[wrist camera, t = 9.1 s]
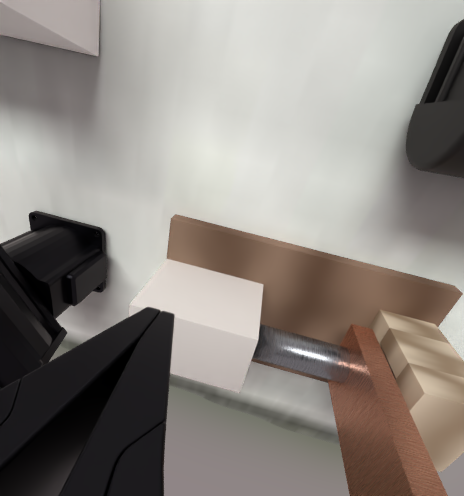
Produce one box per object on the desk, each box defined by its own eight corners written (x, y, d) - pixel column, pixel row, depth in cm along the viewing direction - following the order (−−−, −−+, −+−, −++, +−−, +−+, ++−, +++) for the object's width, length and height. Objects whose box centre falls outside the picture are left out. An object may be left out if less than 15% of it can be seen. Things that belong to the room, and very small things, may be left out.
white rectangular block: (161, 306, 24) (127, 360, 18) (166, 258, 21) (129, 304, 16) (248, 330, 23) (239, 393, 18) (263, 284, 21) (258, 340, 16)
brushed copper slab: (234, 344, 21) (203, 503, 13) (249, 295, 19) (223, 447, 10) (400, 390, 21) (490, 592, 12) (435, 346, 19) (579, 554, 10)
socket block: (348, 362, 23) (374, 452, 17) (379, 309, 20) (424, 393, 14) (396, 375, 23) (441, 472, 17) (435, 324, 20) (505, 415, 14)
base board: (162, 327, 26) (158, 334, 25) (175, 214, 21) (170, 218, 20) (380, 388, 25) (384, 398, 24) (454, 285, 20) (462, 293, 19)
